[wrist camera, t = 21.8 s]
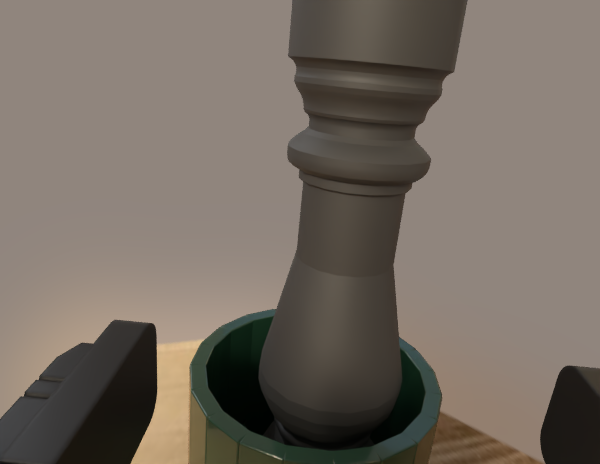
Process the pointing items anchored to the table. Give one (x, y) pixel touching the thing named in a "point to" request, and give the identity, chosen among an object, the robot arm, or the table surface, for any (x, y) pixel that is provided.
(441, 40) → the candle holder
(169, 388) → the table surface
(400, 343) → the pot
